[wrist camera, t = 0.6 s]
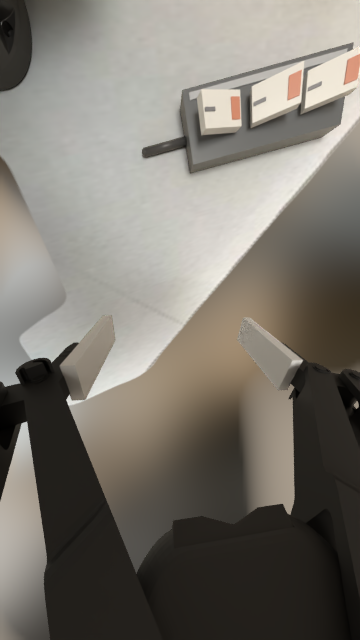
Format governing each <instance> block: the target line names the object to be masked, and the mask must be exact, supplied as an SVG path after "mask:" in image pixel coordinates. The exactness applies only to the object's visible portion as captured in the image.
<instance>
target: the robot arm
mask: <svg viewBox="0 0 360 640" xmlns="http://www.w3.org/2000/svg"><path fill="white" fill-rule="evenodd" d="M30 58H31V30H30V24H29V19H28V14H27V10H26V7H25V3H24V0H0V90H5V89H9V88H12V87H14V86H15V85H17V84H18V83H19V82H20V81H21V80H22V79H23V77H24V76H25V74H26V72H27V69H28V66H29V63H30ZM237 340H238V341H239V343H240V344H241V345H242V347H243V348H244V349H245V350H246V351H247V353H248V354H249V355H250V356H251V358H252V359H253V360H254V361H255V362H256V364H257V365H258V366H259V367H260V369H261V370H262V371H263V372H264V374H265V375H266V376H267V377H268V378H269V380H270V381H271V382H272V383H273V385H274V386H275V387H276V388H277V390H287V389H288V387H289V386H290V384H292V385H293V386H294V389H293V391H292V393H291V395H290V397H289V399H291V398H292V397H293V432H294V433H293V434H294V486H295V500H294V505H293V508H292V511H291V515H289V514H287V512H286V510H285V508H284V506H283V504H279V505H272V506H265V507H259V508H257V509H255V510H254V511H252V512H251V513H250V514H248V515H247V516H246V517H244V518H243V519H241V520H240V521H239V522H237V523H235V524H229V523H225V522H222V521H218V520H214V519H210V518H206V517H203V516H200V517H194V518H187V519H181V520H175V521H173V526H172V529H171V530H170V531H168V532H167V533H165V534H164V535H163V536H162V537H161V538H160V539H159V540H158V541H157V542H156V543H155V544H154V546H153V547H152V548H151V549H150V551H149V552H148V554H147V555H146V557H145V558H144V560H143V562H142V564H141V566H140V568H139V569H138V572H137V574H136V572H135V570H134V567H133V565H132V562H131V560H130V557H129V555H128V552H127V550H126V547H125V545H124V542H123V540H122V537H121V535H120V532H119V530H118V527H117V525H116V522H115V520H114V517H113V515H112V513H111V510H110V508H109V505H108V503H107V501H106V498H105V496H104V493H103V491H102V488H101V486H100V484H99V481H98V478H97V476H96V473H95V471H94V468H93V466H92V463H91V461H90V458H89V456H88V453H87V451H86V448H85V446H84V444H83V441H82V439H81V436H80V434H79V431H78V429H77V426H76V424H75V421H74V419H73V416H72V414H71V411H70V409H69V406H68V404H67V401H66V399H67V397H68V396H69V394H70V396H71V399H72V400H85V399H86V397H87V395H88V393H89V391H90V389H91V387H92V386H93V384H94V382H95V380H96V378H97V376H98V374H99V372H100V370H101V368H102V366H103V364H104V362H105V360H106V358H107V356H108V354H109V352H110V350H111V348H112V346H113V344H114V342H115V335H114V328H113V321H112V316H102V317H101V319H100V320H99V321H98V322H97V323H96V324H95V325H94V327H93V328H92V329H91V330H90V331H89V332H88V334H87V335H86V336H85V337H84V338H83V339H82V340H81V342H80V343H73V344H71V345H69V346H68V347H67V348H66V349H65V350H64V351H63V352H62V353H61V354H60V355H59V357H57V358H56V359H55V360H54V361H53V362H52V363H51V361H50V360H49V359H47V358H38V359H34V360H31V361H29V362H26V363H24V364H23V365H21V366H20V367H19V368H18V369H17V370H16V375H17V377H18V379H19V381H20V384H15V385H11V386H7V387H5V386H4V385H3V383H2V382H0V500H1V496H2V493H3V489H4V486H5V482H6V478H7V474H8V471H9V467H10V464H11V460H12V456H13V453H14V449H15V445H16V442H17V438H18V434H19V431H20V427H21V423H23V422H27V423H28V430H29V437H30V443H31V450H32V457H33V464H34V470H35V477H36V484H37V491H38V498H39V504H40V511H41V518H42V525H43V531H44V538H45V545H46V553H47V565H46V569H45V573H44V590H45V600H46V608H47V617H48V625H49V632H50V640H360V372H357V371H354V370H350V369H343V371H342V372H341V373H340V374H335V373H331V371H330V370H328V369H327V368H325V367H324V366H322V365H319V364H317V363H308V362H307V361H306V360H305V359H303V358H302V357H301V356H300V355H298V354H297V353H296V352H294V351H293V350H292V349H290V348H289V347H288V346H287V345H286V344H284V343H282V342H280V341H278V340H277V339H276V338H275V337H273V336H272V335H271V334H269V333H268V332H267V331H266V330H265V329H263V328H262V327H261V326H260V325H258V324H257V323H256V322H255V321H253V320H252V319H251V318H243V320H242V324H241V328H240V331H239V335H238V339H237ZM356 401H358V403H359V407H358V408H357V409H356V408H355V407H354V404H355V403H356Z"/></svg>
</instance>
